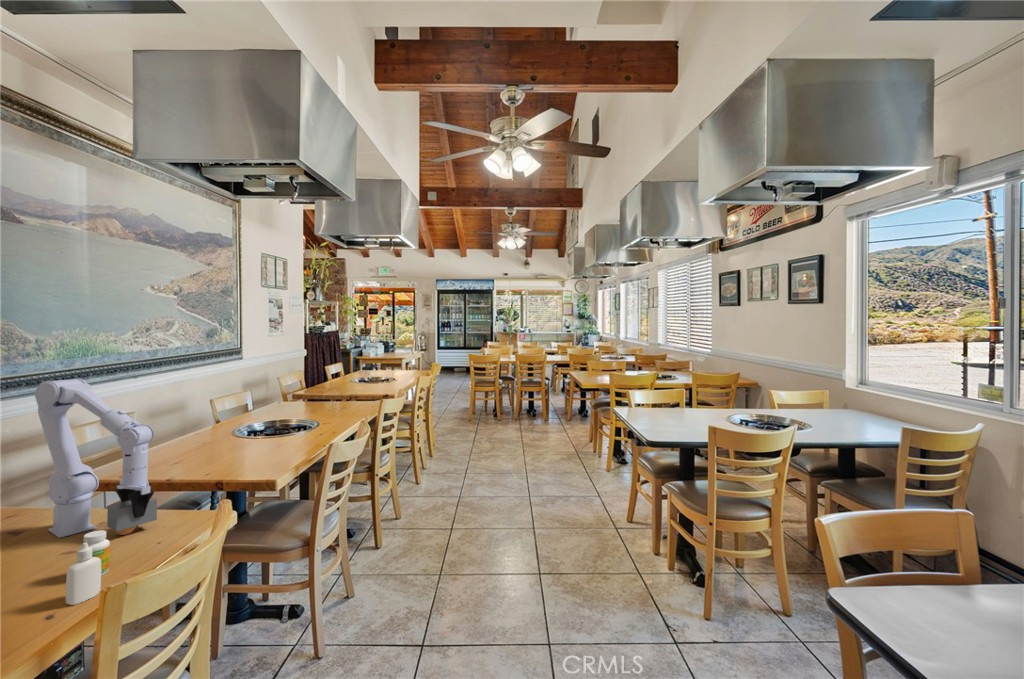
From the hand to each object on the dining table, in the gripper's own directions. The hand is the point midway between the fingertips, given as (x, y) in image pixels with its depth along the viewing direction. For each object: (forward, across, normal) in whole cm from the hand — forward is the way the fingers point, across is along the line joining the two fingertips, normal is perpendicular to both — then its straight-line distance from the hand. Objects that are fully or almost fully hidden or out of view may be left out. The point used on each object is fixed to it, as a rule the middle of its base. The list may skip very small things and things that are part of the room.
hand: (134, 514), depth 132 cm
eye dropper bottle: (+5, +32, -21) cm, 38 cm away
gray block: (+2, 0, 0) cm, 3 cm away
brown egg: (+3, 0, -2) cm, 3 cm away
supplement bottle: (+5, +21, -15) cm, 26 cm away
